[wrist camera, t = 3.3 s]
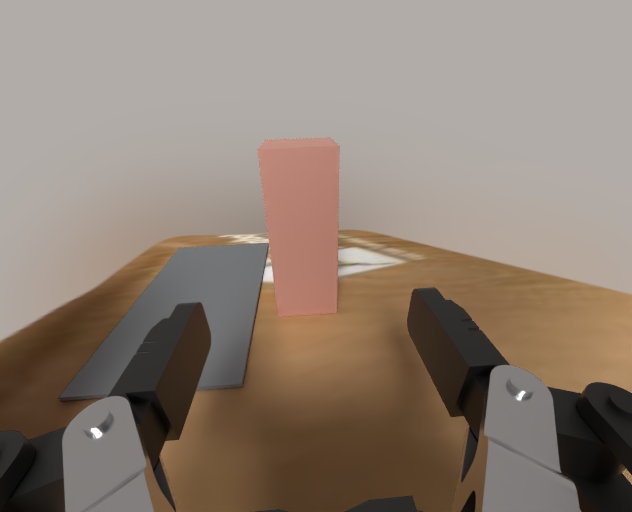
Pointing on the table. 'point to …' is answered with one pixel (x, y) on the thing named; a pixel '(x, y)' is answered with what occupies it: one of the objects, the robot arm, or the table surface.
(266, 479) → the table surface
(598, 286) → the table surface
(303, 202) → the block
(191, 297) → the mat
